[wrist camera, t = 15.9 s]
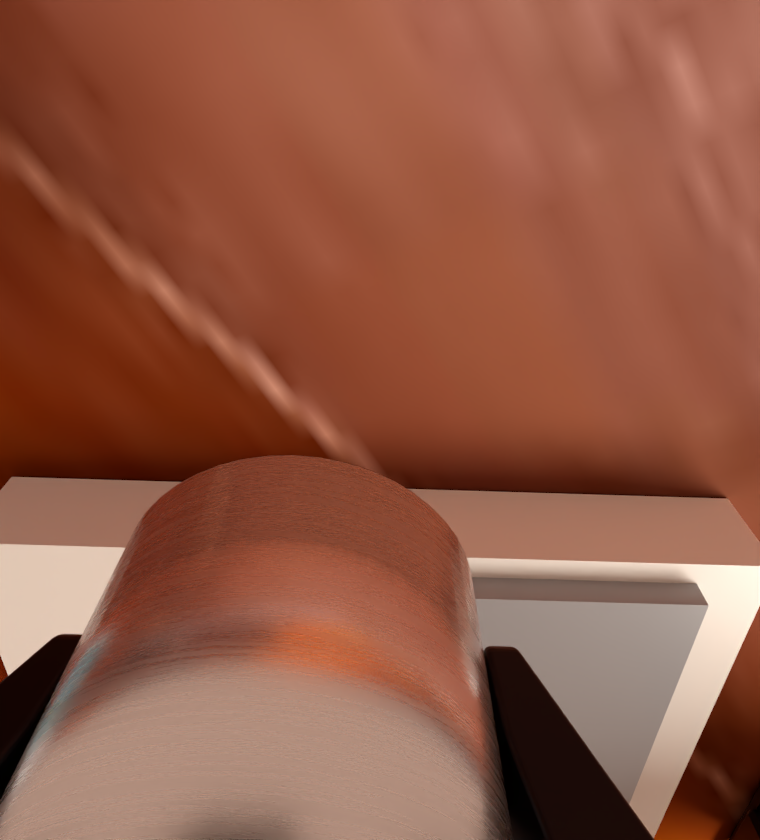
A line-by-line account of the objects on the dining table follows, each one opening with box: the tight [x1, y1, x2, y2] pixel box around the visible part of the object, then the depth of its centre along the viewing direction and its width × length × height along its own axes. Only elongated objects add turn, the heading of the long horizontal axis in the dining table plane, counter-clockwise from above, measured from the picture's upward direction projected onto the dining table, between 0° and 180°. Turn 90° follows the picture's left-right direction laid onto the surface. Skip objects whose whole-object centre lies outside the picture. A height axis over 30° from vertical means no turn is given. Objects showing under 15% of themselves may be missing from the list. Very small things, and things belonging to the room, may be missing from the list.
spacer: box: [0, 455, 513, 840], centre depth 7 cm, size 5×5×5 cm
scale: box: [0, 477, 760, 838], centre depth 23 cm, size 22×16×4 cm
